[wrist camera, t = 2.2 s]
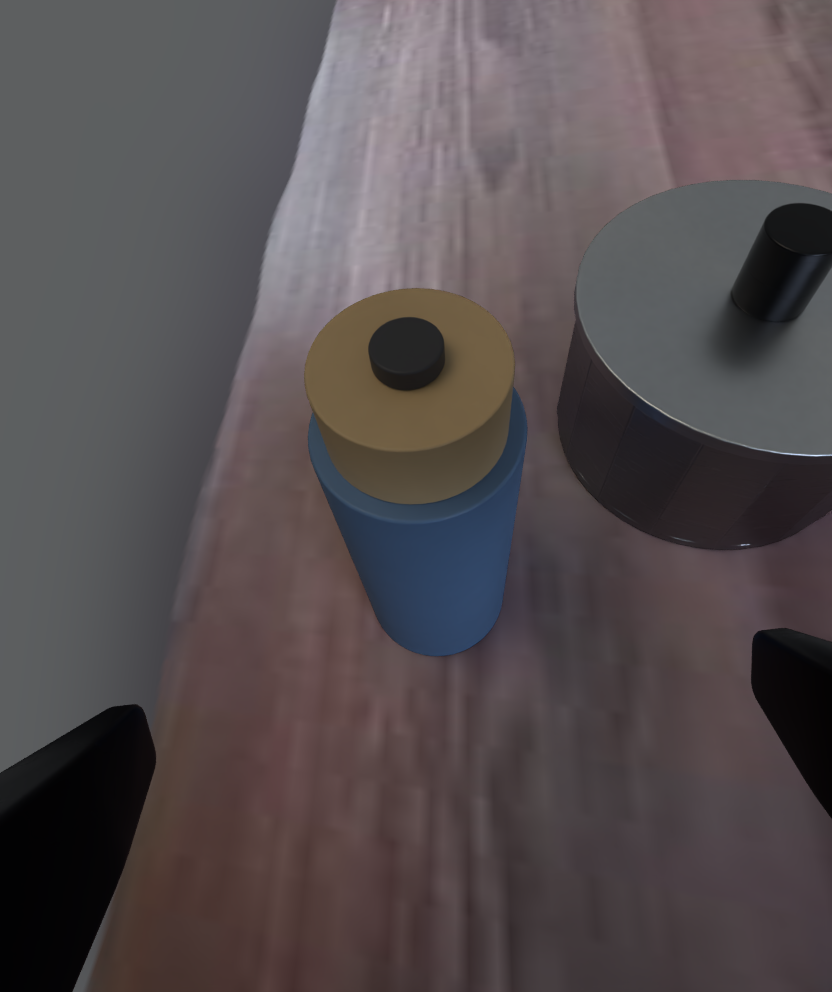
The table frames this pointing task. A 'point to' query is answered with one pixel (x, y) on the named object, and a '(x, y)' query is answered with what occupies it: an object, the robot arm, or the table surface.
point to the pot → (678, 472)
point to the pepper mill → (420, 459)
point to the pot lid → (719, 315)
